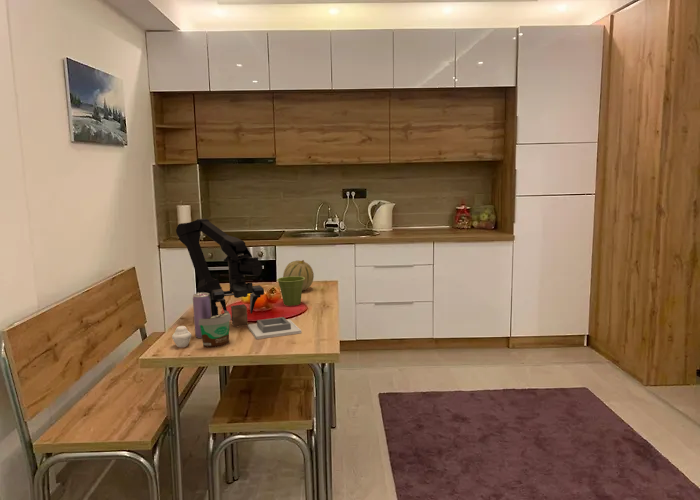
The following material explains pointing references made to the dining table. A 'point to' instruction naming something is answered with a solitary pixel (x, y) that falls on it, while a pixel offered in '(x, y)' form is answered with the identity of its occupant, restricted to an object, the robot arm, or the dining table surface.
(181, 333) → the white lidded jar
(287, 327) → the socket base
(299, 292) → the plant pot
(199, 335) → the beverage can
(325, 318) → the dining table surface
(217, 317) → the food container
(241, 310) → the walnut peg
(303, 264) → the cantaloupe
